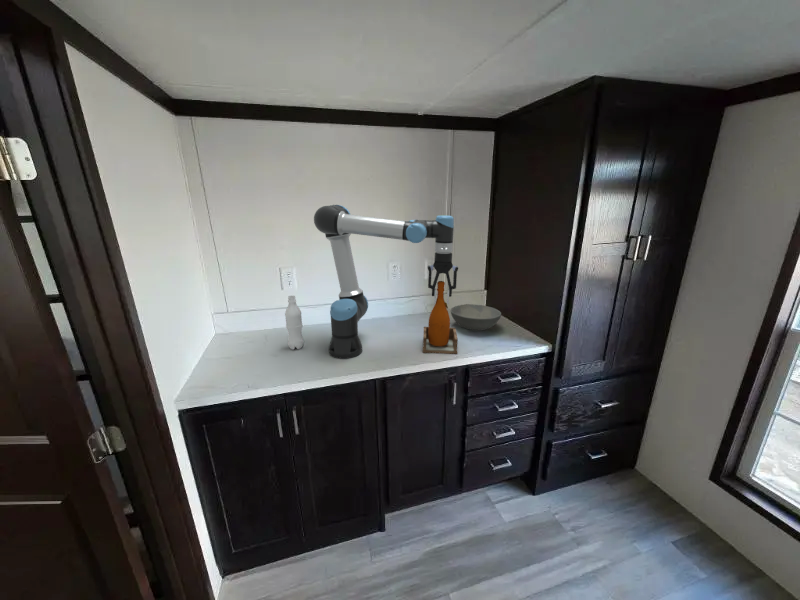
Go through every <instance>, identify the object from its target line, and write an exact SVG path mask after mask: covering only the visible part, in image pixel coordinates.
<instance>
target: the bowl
mask: <svg viewBox="0 0 800 600" xmlns="http://www.w3.org/2000/svg"><path fill="white" fill-rule="evenodd" d="M450 314H451V317H452V319H453V320H454V321H455V323H457V324H458V325H459V326H460V327H462V328H464V329H466V330H469V331H483V330H489V329H490V328H492V327H493V326H495V325H496V324H497V323H498V322H499V320H500V319H501V317H502V312H501V311H500V310H498V309H497V308H495V307H491V306H487V305H483V304H482V305H481V304H472V303H471V304H469V303H466V304H459V305H455V306H453V307H451V309H450Z"/></svg>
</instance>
